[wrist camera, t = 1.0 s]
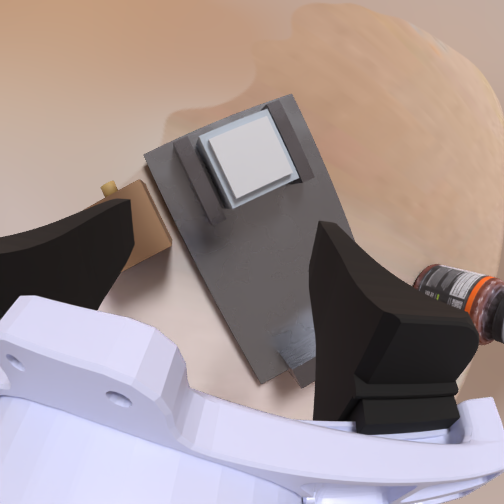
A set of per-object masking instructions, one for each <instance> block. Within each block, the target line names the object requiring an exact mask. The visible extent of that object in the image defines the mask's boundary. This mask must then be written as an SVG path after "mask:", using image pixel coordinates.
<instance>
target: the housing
mask: <svg viewBox="0 0 504 504" xmlns="http://www.w3.org/2000/svg"><path fill="white" fill-rule="evenodd" d="M101 189H102V192H103V194H104V196H105V198H104V199H102V200H100V201H98V202H97V203H95V204H93V205H91V206H90V207H93V206H95V205H98V204H100V203H103V202H105V201H108V200H112V199H116V198H120V199H131V211H132V222H133V232H134V241H135V245H134V248H133V250H132V252H131V255H130V257H129V259H128V261H127V263H126V265H125V266H124V268H123V270H122V271H121V272H123V271H125V270H126V269H128V268H130V267H132V266H134V265H136V264H138V263H140V262H142V261H143V260H145V259H147V258H149V257H151V256H153V255H155V254H157V253H159V252H161V251H163V250H165V249H166V248H168V247H170V246H172V238H171V236H170V234H169V232H168V230H167V228H166V226H165V224H164V222H163V220H162V218H161V216H160V214H159V212H158V210H157V208H156V205H155V203H154V201H153V199H152V197H151V195H150V193H149V191H148V189H147V186H146V184H145V183H144V182H142V181H141V180H140V179H139V180H137V181H135V182H133V183H131V184H129V185H128V186H126V187H124V188H122V189H120V190H118V189H117V187H116V185H115V182H114V181H110V182H108V183H106V184H104V185H103V186H102V187H101ZM90 207H88V208H90ZM88 208H86V209H88ZM86 209H84V210H86Z"/></svg>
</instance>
